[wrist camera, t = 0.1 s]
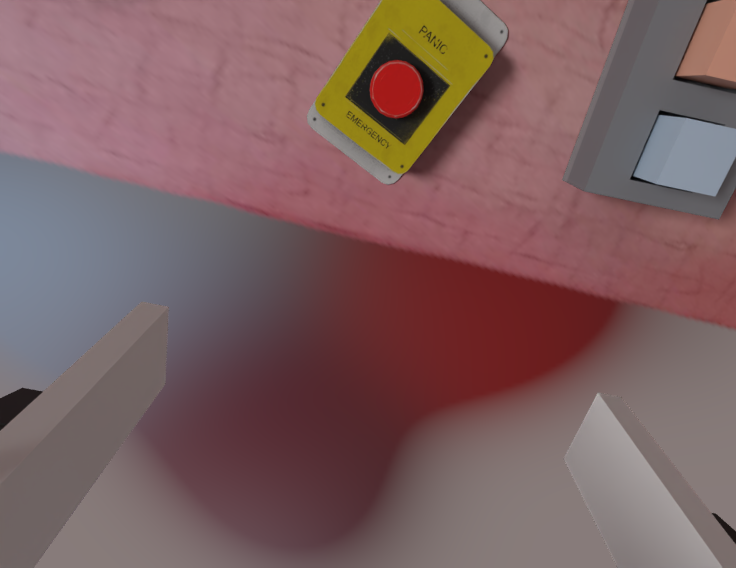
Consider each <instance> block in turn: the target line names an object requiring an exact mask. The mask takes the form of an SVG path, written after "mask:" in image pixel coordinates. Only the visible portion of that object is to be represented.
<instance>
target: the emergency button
mask: <svg viewBox="0 0 736 568" xmlns="http://www.w3.org/2000/svg"><path fill="white" fill-rule="evenodd" d="M507 33H508V29H507V27H506V25H505V24H504V23H503V22H502V21H501V20H500V19H499V18H498V17H497V16H496V15H495V14H494V13H493V12H492V11H491V10H490V9H489V8H488V7H487V6H485V5H484V4H483V3H482V2H481V1H480V0H381V1H380V2H379V4H378V5H377V7H376V8H375V10H374V11H373V13H372V15H371V16H370V18H369V19H368V21H367V22H366V24H365V25H364V27H363V28H362V30H361V31H360V33H359V34H358V36H357V37H356V39H355V40H354V42H353V43H352V45H351V46H350V48H349V50H348V51H347V53H346V54H345V56H344V57H343V59H342V60H341V62H340V63H339V65H338V66H337V68H336V69H335V71H334V72H333V74H332V75H331V77H330V78H329V80H328V81H327V83H326V84H325V86H324V88H323V89H322V91H321V92H320V94H319V95H318V97H317V98H316V100H315V102H314V103H313V105H312V106H311V108H310V109H309V112H308V115H307V120H308V124H309V125H310V127H311V128H312V129H313V130H315V131H316V132H317V133H319V134H320V135H321V136H322V137H324V138H325V139H326V140H328V141H329V142H330V143H332V144H333V145H334V146H335V147H337V148H338V149H339V150H341V151H342V152H343V153H344V154H346V155H347V156H348V157H350V158H351V159H352V160H353V161H355V162H356V163H357V164H359V165H360V166H361V167H363V168H364V169H365V170H366V171H368V172H369V173H370V174H372V175H373V176H374V177H375V178H377V179H378V180H379V181H381V182H382V183H384V184H387V185H388V184H393V183H395V182H396V181H397V180H398V179H399V178H400V177H401V176H402V174H404V173H405V172H407V171H408V170H409V168H410V167H411V166H412V165H413V163H414V162H415V161H416V160H417V158H418V157H419V156H420V154H421V153H422V152H423V151H424V149H425V148H426V147H427V146H428V144H429V143H430V142H431V140H432V139H433V138H434V137H435V135H436V134H437V133H438V131H439V130H440V129H441V128H442V126H443V125H444V124H445V123H446V121H447V120H448V119H449V117H450V116H451V115H452V114H453V112H454V111H455V110H456V109H457V107H458V106H459V105H460V103H461V102H462V101H463V100H464V98H465V97H466V96H467V95H468V93H469V92H470V91H471V89H472V88H473V87H474V86H475V84H476V83H477V82H478V80H479V79H480V78H481V77H482V75H483V74H484V73H485V72H486V70H487V69H488V68H489V66H490V65H491V63H492V61H493V58H494V57H495V55H496V54H497V53H498V52H499V50H500V49H501V48H502V46H503V45H504V43H505V41H506V39H507Z"/></svg>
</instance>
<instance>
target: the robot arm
mask: <svg viewBox="0 0 736 568" xmlns="http://www.w3.org/2000/svg"><path fill="white" fill-rule="evenodd" d="M168 308H169V307H166V306H161V305H156V304H151V303H146V302H141V303H140V304H139V305H138V306H137V307H135V308H134V309H133V310H132V311H131V312H130V313H129V314H128V315H127V316H126V317H124V318H123V319H122V320H121V321H120V322H119V323H118V324H117V325H116V326H115V327H113V328H112V329H111V330H110V331H109V332H108V333H107V334H106V335H105V336H104V337H103V338H101V339H100V340H99V341H98V342H97V343H96V344H95V345H94V346H93V347H92V348H90V349H89V350H88V351H87V352H86V353H85V354H84V355H83V356H82V357H81V358H80V359H78V360H77V361H76V362H75V363H74V364H73V365H72V366H71V367H70V368H69V369H68V370H67V371H65V372H64V373H63V374H62V375H61V376H60V377H59V378H58V379H57V380H56V381H54V382H53V383H52V384H51V385H50V386H49V387H48V388H47V389H46V390H45V391H43V392H42V391H36V390H31V389H25V388H21V389H19V390H17V391H15V392H13V393H11V394H8V395H6V396H4V397H2V398H0V568H34V567H35V565H36V564H37V563H38V561H39V560H40V558H41V557H42V556H43V554H44V553H45V551H46V550H47V549H48V547H49V546H50V544H51V543H52V542H53V540H54V539H55V537H56V536H57V535H58V533H59V532H60V530H61V529H62V528H63V526H64V525H65V524H66V522H67V521H68V519H69V518H70V517H71V515H72V514H73V512H74V511H75V510H76V508H77V506H78V505H79V504H80V503H81V501H82V500H83V498H84V497H85V495H86V494H87V493H88V491H89V490H90V488H91V487H92V486H93V484H94V483H95V482H96V480H97V479H98V477H99V476H100V474H101V473H102V472H103V470H104V469H105V468H106V466H107V465H108V463H109V462H110V461H111V459H112V458H113V456H114V455H115V454H116V452H117V451H118V449H119V448H120V447H121V445H122V444H123V442H124V441H125V439H126V438H127V437H128V435H129V434H130V433H131V431H132V430H133V428H134V427H135V426H136V424H137V423H138V421H139V420H140V419H141V417H142V416H143V414H144V413H145V412H146V410H147V409H148V407H149V406H150V405H151V403H152V402H153V400H154V399H155V398H156V396H157V395H158V393H159V392H160V391H161V389H162V388H163V386H164V385H165V377H166V355H167V354H166V353H167V331H168ZM564 461H565V463H566V465H567V467H568V469H569V471H570V473H571V475H572V477H573V479H574V481H575V483H576V485H577V487H578V489H579V491H580V493H581V495H582V497H583V499H584V501H585V503H586V505H587V507H588V509H589V511H590V514H591V516H592V518H593V520H594V522H595V524H596V526H597V528H598V530H599V532H600V534H601V536H602V538H603V540H604V542H605V544H606V546H607V548H608V550H609V552H610V554H611V556H612V558H613V560H614V562H615V564H616V566H617V568H736V531H735V530H734V529H732V528H731V527H730V526H729V525H728V524H727V523H726V522H724V521H723V520H722V519H721V518H720V517H719V516H718V515H717V514H714V513H711V512H710V511H709V509H708V508H707V507H706V506H705V504H704V503H703V502H702V501H701V499H700V498H699V497H698V495H697V494H696V493H695V492H694V490H693V489H692V488H691V486H690V485H689V484H688V482H687V481H686V480H685V479H684V477H683V476H682V475H681V473H680V472H679V471H678V470H677V468H676V467H675V466H674V464H673V463H672V462H671V460H670V459H669V458H668V457H667V455H666V454H665V453H664V451H663V450H662V449H661V448H660V446H659V445H658V444H657V442H656V441H655V440H654V439H653V437H652V436H651V435H650V433H649V432H648V431H647V430H646V428H645V427H644V426H643V424H642V423H641V422H640V421H639V419H638V418H637V417H636V416H635V414H634V413H633V412H632V410H631V409H630V408H629V406H628V405H627V404H626V403H625V401H624V400H623V399H622V397H618V396H612V395H607V394H603V393H597V395H596V397H595V399H594V401H593V403H592V405H591V407H590V409H589V411H588V413H587V415H586V416H585V418H584V420H583V422H582V424H581V426H580V428H579V430H578V432H577V434H576V436H575V438H574V439H573V441H572V443H571V445H570V447H569V449H568V451H567V453H566V455H565V457H564Z"/></svg>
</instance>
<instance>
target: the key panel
mask: <svg viewBox="0 0 736 568" xmlns="http://www.w3.org/2000/svg"><path fill="white" fill-rule="evenodd" d="M716 1H720V0H629V1H628V4H627V6H626V9H625V12H624V14H623V17H622V20H621V23H620V25H619V28H618V31H617V33H616V36H615V39H614V41H613V44H612V47H611V49H610V52H609V55H608V58H607V60H606V63H605V66H604V68H603V71H602V74H601V76H600V79H599V82H598V85H597V87H596V90H595V93H594V95H593V98H592V101H591V103H590V106H589V109H588V112H587V114H586V117H585V120H584V122H583V125H582V128H581V130H580V133H579V136H578V139H577V141H576V144H575V147H574V149H573V152H572V155H571V157H570V160H569V163H568V166H567V168H566V171H565V174H564V176H563V179H562V180H563V181H565V182H567V183H569V184H571V185H573V186H575V187H577V188H579V189H581V190H583V191H585V192H590V193H595V194H600V195H604V196H609V197H614V198H619V199H624V200H628V201H633V202H638V203H643V204H648V205H652V206H657V207H662V208H667V209H671V210H676V211H681V212H686V213H691V214H695V215H700V216H705V217H710V218H714V219H719V218H720V217H721V215H722V213H723V211H724V209H725V207H726V205H727V203H728V201H729V200H730V198H731V196H732V194H733V192H734V190H735V188H736V157H735V159H734V161H733V163H732V165H731V167H730V169H729V171H728V173H727V175H726V177H725V179H724V181H723V183H722V185H721V187H720V189H719V191H718V192H717V194H716V196H710V195H706V194H701V193H696V192H691V191H687V190H682V189H677V188H673V187H668V186H663V185H658V184H655V183H652V182H649V181H646V180H643V179H641V178H638V177H635V176H632V173H633V171H634V168H635V166H636V164H637V162H638V159H639V157H640V155H641V152H642V150H643V148H644V145H645V143H646V141H647V138H648V136H649V134H650V131H651V129H652V127H653V124H654V122H655V120H656V117H657V115H663V116H673V117H682V118H689V119H693V120H698V121H702V122H707V123H711V124H716V125H720V126H725V127H729V128H734V129H736V89H727V88H723V87H719V86H714V85H710V84H705V83H701V82H697V81H692V80H688V79H683V78H679V77H675V73H676V71H677V69H678V66H679V64H680V62H681V59H682V57H683V55H684V52H685V50H686V48H687V45H688V43H689V41H690V38H691V36H692V34H693V32H694V29H695V27H696V25H697V22H698V20H699V18H700V15H701V13H702V11H703V8H704V6H705V4H708V3H712V2H716Z"/></svg>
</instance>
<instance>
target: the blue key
mask: <svg viewBox="0 0 736 568" xmlns="http://www.w3.org/2000/svg"><path fill="white" fill-rule="evenodd" d="M735 157H736V129H734V128H729V127H725V126H720V125H716V124H711V123H707V122H702V121H698V120H693V119H689V118H682V117H673V116H663V115H657V117H656V120H655V122H654V124H653V127H652V129H651V131H650V134H649V136H648V138H647V141H646V143H645V145H644V148H643V150H642V152H641V155H640V157H639V159H638V162H637V164H636V166H635V168H634V171H633V173H632V176H635V177H638V178H641V179H643V180H646V181H649V182H652V183H655V184H658V185H663V186H668V187H673V188H677V189H682V190H687V191H691V192H696V193H701V194H706V195H710V196H716V194H717V192H718V191H719V189H720V187H721V185H722V183H723V181H724V179H725V177H726V175H727V173H728V171H729V169H730V167H731V165H732V163H733V161H734V159H735Z"/></svg>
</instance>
